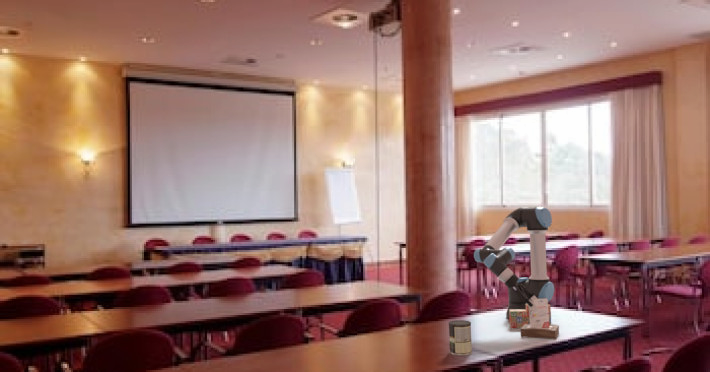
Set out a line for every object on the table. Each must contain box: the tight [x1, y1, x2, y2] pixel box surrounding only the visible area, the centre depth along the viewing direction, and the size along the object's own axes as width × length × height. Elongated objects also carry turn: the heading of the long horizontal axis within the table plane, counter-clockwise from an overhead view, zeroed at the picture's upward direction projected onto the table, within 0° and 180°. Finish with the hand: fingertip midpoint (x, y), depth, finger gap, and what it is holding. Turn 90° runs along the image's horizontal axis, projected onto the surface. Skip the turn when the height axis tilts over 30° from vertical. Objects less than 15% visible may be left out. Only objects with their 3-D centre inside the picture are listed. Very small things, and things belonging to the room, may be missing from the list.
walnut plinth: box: [520, 324, 560, 340], centre depth 325 cm, size 13×17×4 cm
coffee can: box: [448, 319, 473, 356], centre depth 294 cm, size 10×10×14 cm
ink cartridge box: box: [529, 298, 549, 328], centre depth 325 cm, size 9×5×15 cm, turn 104°
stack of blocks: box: [508, 303, 552, 329], centre depth 345 cm, size 21×6×12 cm, turn 83°
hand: (539, 308), depth 324 cm, fingers open, 13 cm apart
